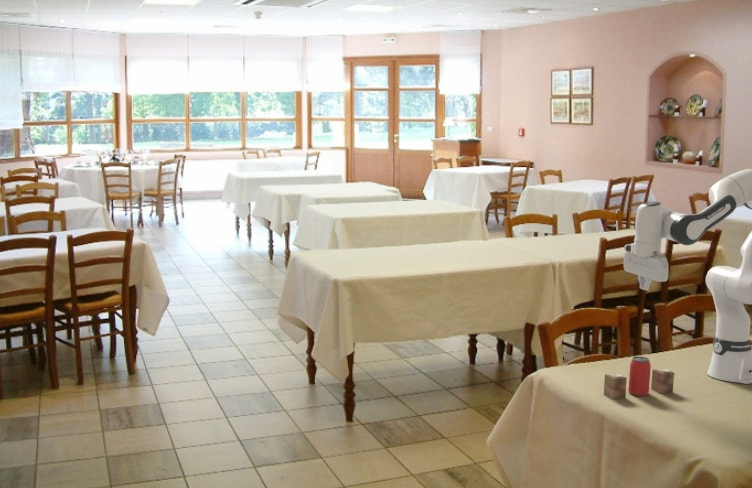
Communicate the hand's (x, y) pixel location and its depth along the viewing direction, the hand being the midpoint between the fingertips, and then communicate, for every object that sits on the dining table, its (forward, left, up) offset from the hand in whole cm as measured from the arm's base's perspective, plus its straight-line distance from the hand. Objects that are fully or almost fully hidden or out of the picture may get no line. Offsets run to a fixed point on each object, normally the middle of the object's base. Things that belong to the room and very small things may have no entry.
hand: (644, 289), depth 304 cm
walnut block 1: (+17, +10, -33) cm, 38 cm away
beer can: (+7, +10, -33) cm, 35 cm away
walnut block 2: (-2, +10, -33) cm, 35 cm away
